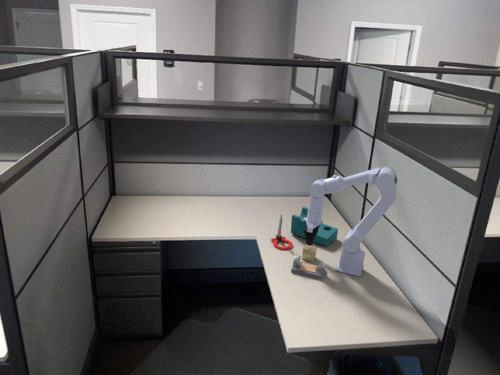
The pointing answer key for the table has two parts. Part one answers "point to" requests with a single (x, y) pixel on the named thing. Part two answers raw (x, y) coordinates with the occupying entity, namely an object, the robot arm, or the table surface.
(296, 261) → the stand
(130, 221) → the table surface
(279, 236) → the tow hook
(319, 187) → the robot arm
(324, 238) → the teal l-shaped bracket
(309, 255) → the coupling block
